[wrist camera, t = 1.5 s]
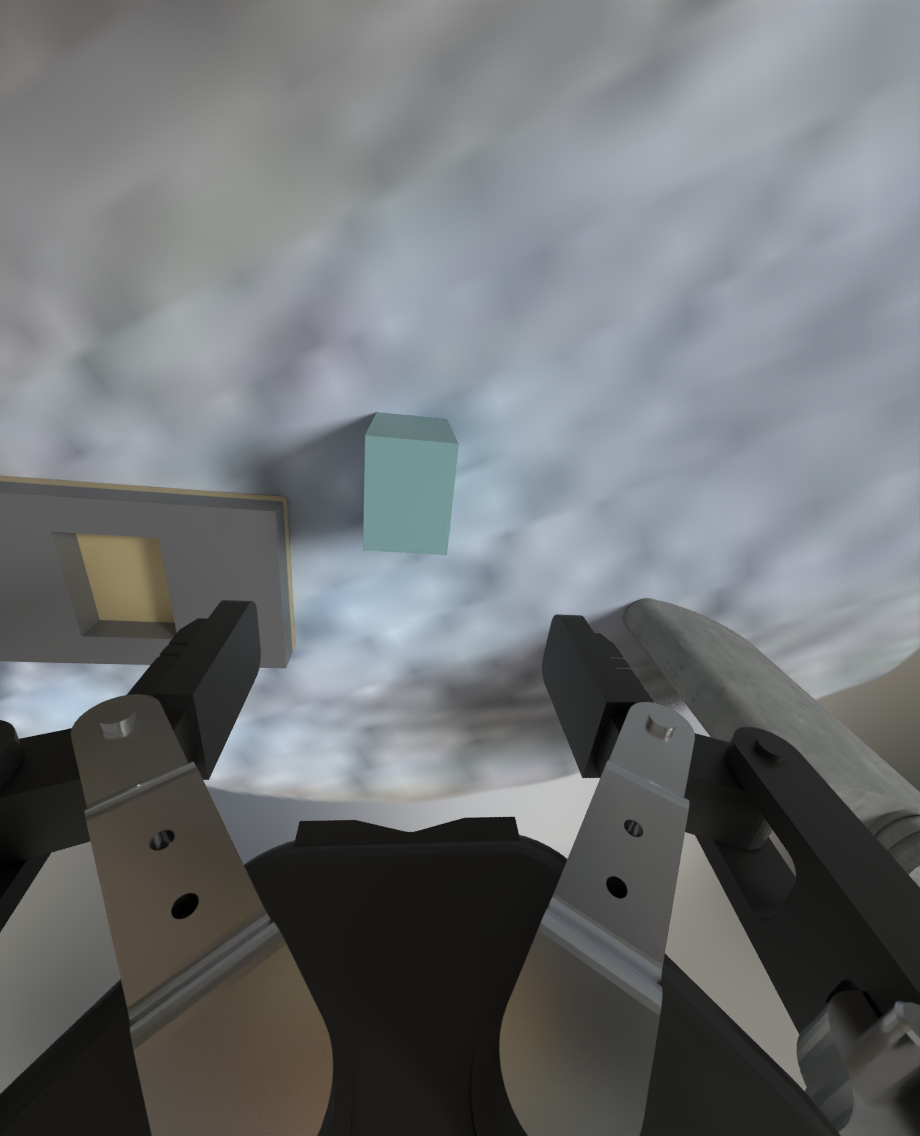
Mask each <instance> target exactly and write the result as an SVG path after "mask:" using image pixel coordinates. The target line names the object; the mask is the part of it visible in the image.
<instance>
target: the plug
mask: <svg viewBox="0 0 920 1136" xmlns="http://www.w3.org/2000/svg"><path fill="white" fill-rule="evenodd" d="M457 454H458V442H457V439H456V437H455V435H454V433H453V431H452V429H451V427H450V424H449V422H448V420H447V419H440V418H430V417H420V416H410V415H400V414H390V413H380V412H376V414H375V416H374V418H373V420H372V422H371V424H370V426H369V428H368V430H367V432H366V434H365V469H364V524H363V550H370V551H387V552H404V553H421V554H438V555H447V549H448V539H449V530H450V520H451V511H452V501H453V492H454V482H455V473H456V463H457Z"/></svg>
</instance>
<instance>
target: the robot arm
mask: <svg viewBox="0 0 920 1136" xmlns="http://www.w3.org/2000/svg"><path fill="white" fill-rule="evenodd" d="M260 661H261V646H260V636H259V625H258V615H257V607H256V604H255V602H254V601H239V600H222V601H220V603H219V604H218V605H217V607H216V608H215V609H214V611H213V612H212V613H211V615H210V616H209V617H208V619H206V618H197V619H196V620H194V621H193V622H191V623H189V624H188V625H186V626H184V627H183V628H181V629H180V630H179V631H178V632H177V633H176V635H175V636H174V637H173V638H172V639H171V641H170V642H169V645H168V646H166V647H165V648H164V649H163V651H162V652H161V653H160V656H159V657H157V658H156V659H155V660H154V662H153V663H152V664H151V665H150V667H149V668H148V669H147V670H146V672H145V673H144V674H143V675H142V677H141V678H140V679H139V680H138V682H137V683H136V684H135V685H134V686H133V688H132V689H131V690H130V691H129V693H128V694H127V695H125V696H120V697H116V698H112V699H110V700H107V701H104V702H102V703H100V704H98V705H96V706H94V707H92V708H91V709H89V710H88V711H86V712H85V713H84V714H83V715H82V716H80V717H79V718H78V720H77V721H76V722H75V723H74V725H73V727H72V728H70V729H66V730H61V731H56V732H51V733H46V734H41V735H36V736H31V737H26V738H21V739H19V738H18V736H17V733H16V731H15V728H14V727H13V725H11V724H10V723H8V722H6V721H2V720H0V932H1V930H2V929H3V927H4V926H5V924H6V923H7V921H8V919H9V918H10V916H11V915H12V913H13V912H14V910H15V909H16V907H17V905H18V904H19V902H20V901H21V899H22V898H23V896H24V894H25V893H26V891H27V890H28V888H29V887H30V885H31V883H32V882H33V880H34V879H35V877H36V876H37V874H38V873H39V871H40V869H41V868H42V866H43V865H44V863H45V862H46V860H47V858H48V857H49V855H50V854H51V852H55V851H58V850H62V849H65V848H69V847H72V846H76V845H79V844H83V843H86V842H89V841H91V845H92V849H93V854H94V859H95V863H96V868H97V873H98V876H99V882H100V886H101V891H102V895H103V900H104V904H105V909H106V914H107V918H108V923H109V927H110V932H111V936H112V941H113V945H114V950H115V954H116V959H117V964H118V968H119V973H120V977H121V979H120V980H119V981H118V982H117V983H116V984H115V985H114V986H113V987H112V988H111V989H110V990H109V991H108V992H107V993H105V995H103V996H102V998H100V999H99V1000H98V1001H97V1002H96V1003H95V1004H94V1005H93V1006H92V1007H91V1008H90V1009H89V1010H88V1011H87V1012H86V1013H84V1014H83V1015H82V1016H81V1017H80V1018H79V1019H78V1020H77V1021H76V1022H75V1023H74V1024H73V1025H72V1026H71V1027H70V1028H69V1029H68V1030H67V1031H66V1032H65V1033H64V1034H62V1035H61V1036H60V1037H59V1038H58V1039H57V1040H56V1041H55V1042H54V1043H53V1044H52V1045H51V1046H50V1047H49V1048H48V1049H47V1050H46V1051H45V1052H44V1053H42V1054H41V1055H40V1056H39V1057H38V1058H37V1059H36V1060H35V1061H34V1062H33V1063H32V1064H31V1065H30V1066H29V1067H28V1068H27V1069H26V1070H25V1071H24V1072H23V1073H21V1075H19V1076H18V1077H17V1078H16V1079H15V1080H14V1081H13V1082H12V1083H11V1084H10V1085H9V1086H8V1087H7V1088H6V1089H5V1090H4V1091H3V1092H2V1093H1V1094H0V1136H920V887H919V886H918V885H917V884H916V883H915V881H914V880H913V879H912V878H911V877H910V876H909V875H908V874H907V872H906V871H905V870H904V869H903V868H902V867H901V866H900V865H899V863H898V862H897V861H896V860H895V859H894V858H893V857H892V856H891V854H890V853H889V852H888V851H887V850H886V849H885V848H884V847H883V845H882V844H881V843H880V842H879V841H878V840H877V839H876V838H875V836H874V835H873V834H872V833H871V832H870V831H869V830H868V829H867V827H866V826H865V825H864V824H863V823H862V822H861V821H860V820H859V818H858V817H857V816H856V815H855V814H854V813H853V812H852V811H851V809H850V808H849V807H848V806H847V805H846V804H845V803H844V802H843V800H842V799H841V798H840V797H839V796H838V795H837V794H836V793H835V791H834V790H833V789H832V788H831V787H830V786H829V785H828V784H827V782H826V781H825V780H824V779H823V778H822V777H821V776H820V775H819V773H818V772H817V771H816V770H815V769H814V768H813V767H812V766H811V764H810V763H809V762H808V761H807V760H806V759H805V758H804V757H803V755H802V754H801V753H800V752H799V751H798V750H797V749H796V748H795V747H794V746H792V745H791V744H790V743H789V742H787V741H786V740H784V739H783V738H781V737H779V736H777V735H775V734H773V733H771V732H769V731H766V730H763V729H760V728H755V727H742V728H739V729H737V730H736V731H735V732H734V734H733V736H732V738H731V740H730V742H727V741H723V740H719V739H715V738H711V737H707V736H703V735H699V734H696V733H694V731H693V728H692V727H691V725H690V724H689V722H688V721H687V720H686V719H685V718H684V717H682V716H681V715H680V714H679V713H677V712H676V711H674V710H672V709H670V708H668V707H666V706H663V705H661V704H657V703H654V702H653V700H652V699H651V698H650V696H649V695H648V693H647V692H646V690H645V689H644V687H643V686H642V684H641V683H640V681H639V680H638V678H637V677H636V676H635V674H634V673H633V671H632V670H630V667H629V665H628V664H627V662H626V661H625V660H623V656H622V655H621V654H620V652H619V651H618V649H617V648H616V646H615V645H614V644H613V643H612V642H610V641H609V640H608V639H606V638H605V637H604V636H603V635H601V634H597V633H594V632H593V631H592V629H591V628H590V626H589V625H588V623H587V621H586V620H585V618H584V617H583V616H581V615H555V616H554V617H553V619H552V622H551V626H550V631H549V635H548V639H547V644H546V648H545V653H544V657H543V663H542V673H543V679H544V683H545V685H546V688H547V690H548V693H549V695H550V698H551V700H552V703H553V705H554V708H555V710H556V713H557V715H558V718H559V720H560V723H561V725H562V728H563V730H564V733H565V735H566V738H567V740H568V743H569V745H570V748H571V750H572V753H573V755H574V758H575V760H576V763H577V765H578V768H579V770H580V773H581V775H582V778H600V780H599V783H598V786H597V788H596V790H595V793H594V795H593V798H592V800H591V803H590V805H589V808H588V810H587V813H586V815H585V818H584V820H583V822H582V825H581V828H580V830H579V832H578V835H577V837H576V840H575V842H574V845H573V847H572V850H571V852H570V854H569V857H568V859H567V858H565V857H564V856H563V855H561V854H560V853H559V852H557V851H555V850H554V849H552V848H551V847H549V846H547V845H545V844H543V843H541V842H539V841H537V840H534V839H531V838H528V837H526V836H521V835H519V833H518V829H517V824H516V820H515V817H482V818H481V817H480V818H462V819H459V820H455V821H451V822H448V823H444V824H441V825H437V826H434V827H430V828H427V829H423V830H419V831H415V832H405V831H400V830H396V829H392V828H387V827H383V826H378V825H374V824H370V823H366V822H361V821H357V820H337V821H336V820H334V821H300V822H299V827H298V831H297V835H296V839H295V840H294V841H291V842H287V843H284V844H282V845H279V846H277V847H274V848H272V849H270V850H268V851H266V852H264V853H262V854H260V855H258V856H256V857H255V858H253V859H252V860H250V861H249V862H247V863H246V864H244V865H243V863H242V860H241V858H240V856H239V854H238V852H237V850H236V848H235V846H234V844H233V842H232V840H231V837H230V835H229V834H228V832H227V829H226V827H225V825H224V823H223V821H222V819H221V817H220V814H219V812H218V810H217V808H216V806H215V804H214V802H213V800H212V798H211V796H210V793H209V791H208V789H207V787H206V785H205V783H204V781H203V780H209V778H210V776H211V774H212V772H213V770H214V767H215V765H216V763H217V761H218V759H219V757H220V754H221V752H222V750H223V748H224V746H225V744H226V741H227V739H228V737H229V735H230V733H231V731H232V729H233V726H234V724H235V722H236V720H237V718H238V716H239V713H240V711H241V709H242V707H243V705H244V703H245V700H246V698H247V696H248V694H249V692H250V690H251V687H252V685H253V683H254V681H255V679H256V677H257V674H258V671H259V667H260ZM772 830H773V831H774V832H775V834H776V835H777V837H778V838H779V840H780V841H781V843H782V844H783V845H784V847H785V848H786V850H787V851H788V853H789V854H790V856H791V858H792V860H793V863H794V865H795V869H796V877H795V876H794V874H793V873H792V871H791V870H790V868H789V867H788V865H787V864H786V862H785V861H784V859H783V858H782V856H781V855H780V853H779V852H778V850H777V849H776V847H775V846H774V844H773V843H772V841H771V840H770V838H769V835H770V834H771V832H772ZM685 832H687V833H690V834H693V835H695V836H696V838H697V840H698V841H699V843H700V845H701V847H702V849H703V851H704V853H705V855H706V857H707V859H708V861H709V863H710V864H711V866H712V868H713V870H714V872H715V874H716V876H717V878H718V880H719V881H720V883H721V885H722V887H723V889H724V891H725V893H726V895H727V897H728V899H729V901H730V903H731V904H732V907H733V908H734V910H735V912H736V914H737V916H738V918H739V920H740V922H741V924H742V926H743V927H744V929H745V931H746V933H747V935H748V937H749V939H750V941H751V943H752V945H753V947H754V949H755V950H756V952H757V954H758V956H759V958H760V960H761V962H762V964H763V966H764V968H765V969H766V972H767V974H768V975H769V977H770V979H771V981H772V983H773V985H774V987H775V989H776V991H777V993H778V995H779V996H780V998H781V1000H782V1002H783V1004H784V1006H785V1008H786V1010H787V1012H788V1014H789V1016H790V1018H791V1019H792V1021H793V1023H794V1025H795V1027H796V1029H797V1031H798V1033H799V1037H798V1040H797V1059H798V1064H799V1068H800V1072H801V1074H802V1077H803V1080H804V1082H805V1085H806V1087H807V1088H806V1091H804V1090H803V1089H802V1088H801V1087H800V1086H799V1085H798V1084H797V1083H796V1082H795V1081H794V1080H793V1079H792V1078H791V1077H790V1076H789V1075H788V1074H787V1073H786V1072H785V1071H784V1070H783V1069H782V1068H781V1067H780V1066H779V1065H778V1064H777V1063H776V1062H775V1061H774V1060H773V1059H772V1058H771V1057H770V1056H769V1055H768V1054H767V1053H766V1052H765V1051H764V1050H763V1049H762V1048H761V1047H760V1046H759V1045H758V1044H757V1043H756V1042H755V1041H753V1040H752V1039H751V1038H750V1037H749V1036H748V1035H747V1034H746V1033H745V1032H744V1031H743V1030H742V1029H741V1028H740V1027H739V1026H738V1025H737V1024H736V1023H735V1022H734V1021H733V1020H732V1019H731V1018H730V1017H729V1016H728V1015H727V1014H726V1013H725V1012H724V1011H723V1010H722V1009H721V1008H720V1007H719V1006H718V1005H717V1004H716V1003H715V1002H714V1001H713V1000H712V999H711V998H710V997H708V995H707V994H706V993H704V991H703V990H702V989H701V988H699V986H698V985H697V984H696V983H694V982H693V981H692V980H691V979H690V978H689V977H688V976H687V975H686V974H685V973H684V972H683V971H682V970H681V969H680V968H679V967H678V966H677V965H676V964H675V963H674V962H673V961H672V960H671V959H670V958H669V957H668V956H667V955H666V954H665V948H666V942H667V936H668V930H669V923H670V918H671V912H672V906H673V900H674V894H675V888H676V882H677V876H678V870H679V864H680V858H681V852H682V846H683V840H684V834H685Z"/></svg>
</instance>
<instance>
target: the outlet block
mask: <svg viewBox="0 0 920 1136" xmlns="http://www.w3.org/2000/svg"><path fill="white" fill-rule="evenodd" d="M222 600H239V601H254V602H255V604H256V607H257V615H258V625H259V636H260V646H261V661H260V667H259V668H286V667H287V665H288V662H289V659H290V657H291V654H292V652H293V649H294V646H295V627H294V610H293V592H292V575H291V558H290V540H289V523H288V506H287V497H283V496H269V495H256V494H242V493H228V492H215V491H201V490H187V489H174V488H160V487H146V486H133V485H119V484H105V483H92V482H78V481H64V480H51V479H37V478H23V477H10V476H0V661H13V662H53V663H94V664H135V665H151V664H152V663H153V662H154V660H155V659H156V658H157V657H159V656H160V653H161V652H162V651H163V649H164V648H165V647H166V646H168V645H169V642H170V641H171V639H172V638H173V637H174V636H175V635H176V633H177V632H178V631H179V630H180V629H181V628H183V627H184V626H186V625H188V624H189V623H191V622H193V621H194V620H196V619H197V618H206V619H208V617H209V616H210V615H211V613H212V612H213V611H214V609H215V608H216V607H217V605H218V604H219V603H220V601H222Z"/></svg>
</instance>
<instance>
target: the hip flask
mask: <svg viewBox="0 0 920 1136" xmlns="http://www.w3.org/2000/svg"><path fill="white" fill-rule="evenodd" d="M624 622H625V625H626V626H627V627H628V629H629V630H630V631H631V633H632V634H633V635H634V637H635V638H636V639H637V641H638V642H639V643H640V645H641V646H642V647H643V648H644V650H645V651H646V652H647V654H648V655H649V656H650V658H651V659H652V660H653V662H654V663H655V664H656V666H657V667H658V668H659V670H660V671H661V672H662V673H663V675H664V676H665V677H666V679H667V680H668V681H669V683H670V684H671V685H672V687H673V688H674V689H675V691H676V692H677V693H678V695H679V696H680V697H681V699H682V700H683V701H684V702H685V704H686V705H687V706H688V708H689V709H690V710H691V712H692V713H693V714H694V716H695V717H696V718H697V720H698V721H699V722H700V724H701V725H702V726H703V727H704V729H705V730H706V731H707V733H708V734H709V735H710V737H711V738H715V739H719V740H723V741H727V742H730V740H731V738H732V736H733V734H734V732H735V731H736V730H737V729H739V728H742V727H755V728H760V729H763V730H766V731H769V732H771V733H773V734H775V735H777V736H779V737H781V738H783V739H784V740H786V741H787V742H789V743H790V744H791V745H792V746H794V747H795V748H796V749H797V750H798V751H799V752H800V753H801V754H802V755H803V757H804V758H805V759H806V760H807V761H808V762H809V763H810V764H811V766H812V767H813V768H814V769H815V770H816V771H817V772H818V773H819V775H820V776H821V777H822V778H823V779H824V780H825V781H826V782H827V784H828V785H829V786H830V787H831V788H832V789H833V790H834V791H835V793H836V794H837V795H838V796H839V797H840V798H841V799H842V800H843V802H844V803H845V804H846V805H847V806H848V807H849V808H850V809H851V811H852V812H853V813H854V814H855V815H856V816H857V817H858V818H859V820H860V821H861V822H862V823H863V824H864V825H865V826H866V827H867V829H868V830H869V831H870V832H871V833H872V834H873V835H874V836H875V838H876V839H877V840H878V841H879V842H880V843H881V844H882V845H883V847H884V848H885V849H886V850H887V851H888V852H889V853H890V854H891V856H892V857H893V858H894V859H895V860H896V861H897V862H898V863H899V865H900V866H901V867H902V868H903V869H904V870H905V871H906V872H907V874H908V875H909V876H910V877H911V878H912V879H913V880H914V881H915V883H916V884H917V885H918V886H919V887H920V792H919V791H917V790H916V789H915V788H914V787H913V786H912V785H911V784H910V783H909V782H907V781H906V780H905V779H904V778H903V777H902V776H901V775H900V774H898V773H897V772H896V771H895V770H894V769H893V768H892V767H890V766H889V765H888V764H887V763H886V762H885V761H884V760H883V759H881V758H880V757H879V756H878V755H877V754H876V753H875V752H874V751H872V750H871V749H870V748H869V747H868V746H867V745H866V744H864V743H863V742H862V741H861V740H860V739H859V738H858V737H856V736H855V735H854V734H853V733H852V732H851V731H850V730H849V729H848V728H846V727H845V726H844V725H843V724H842V723H841V722H840V721H838V720H837V719H836V718H835V717H834V716H833V715H832V714H831V713H829V712H828V711H827V710H826V709H825V708H824V707H823V706H822V705H820V704H819V703H818V702H817V701H816V700H815V699H814V698H812V697H811V696H810V695H809V694H808V693H807V692H806V691H805V690H803V689H802V688H801V687H800V686H799V685H798V684H797V683H796V682H794V681H793V680H792V679H791V678H790V677H789V676H788V675H786V674H785V673H784V672H783V671H782V670H781V669H780V668H779V667H777V666H776V665H775V664H774V663H773V662H772V661H771V660H770V659H768V658H767V657H766V656H765V655H764V654H763V653H762V652H760V651H759V650H758V649H757V648H756V647H755V646H753V645H752V644H751V643H750V642H748V641H747V640H746V639H744V638H743V637H741V636H740V635H738V634H737V633H735V632H734V631H732V630H730V629H729V628H727V627H725V626H723V625H721V624H719V623H717V622H715V621H713V620H711V619H709V618H707V617H705V616H703V615H700V614H698V613H696V612H693V611H691V610H688V609H685V608H682V607H679V606H676V605H673V604H670V603H666V602H662V601H658V600H654V599H649V598H646V599H640V600H638V601H636V602H634V603H633V604H631V605H630V606H629V607H628V609H627V610H626V612H625V615H624Z"/></svg>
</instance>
